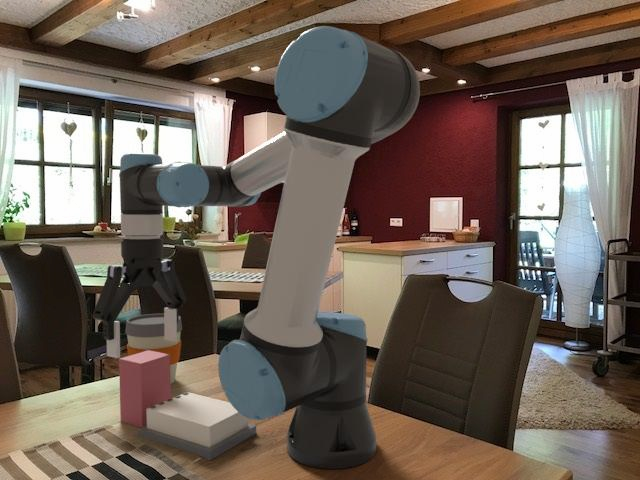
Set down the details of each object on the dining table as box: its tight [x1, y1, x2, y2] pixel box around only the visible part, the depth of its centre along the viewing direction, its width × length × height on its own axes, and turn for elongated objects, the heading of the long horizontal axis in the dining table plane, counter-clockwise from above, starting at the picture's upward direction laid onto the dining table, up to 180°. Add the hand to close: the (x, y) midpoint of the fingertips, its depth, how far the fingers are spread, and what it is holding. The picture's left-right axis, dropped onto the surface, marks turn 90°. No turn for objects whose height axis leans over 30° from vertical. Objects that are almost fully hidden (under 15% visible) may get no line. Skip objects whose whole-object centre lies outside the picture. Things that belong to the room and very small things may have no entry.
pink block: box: [118, 350, 172, 428], centre depth 103 cm, size 6×7×12 cm
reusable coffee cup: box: [124, 313, 183, 385], centre depth 125 cm, size 13×13×15 cm
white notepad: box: [138, 391, 257, 461], centre depth 96 cm, size 17×12×5 cm
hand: (143, 348), depth 103 cm, fingers open, 13 cm apart
